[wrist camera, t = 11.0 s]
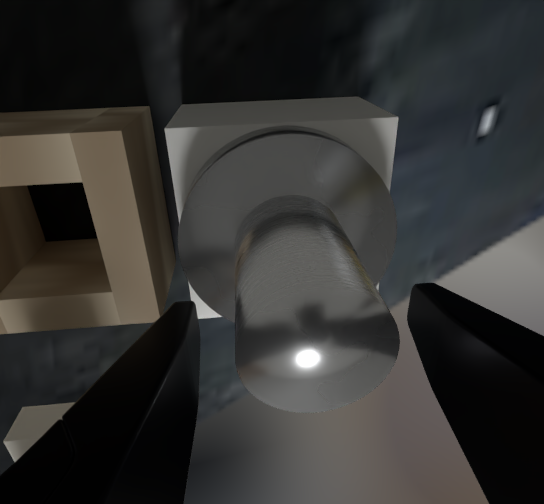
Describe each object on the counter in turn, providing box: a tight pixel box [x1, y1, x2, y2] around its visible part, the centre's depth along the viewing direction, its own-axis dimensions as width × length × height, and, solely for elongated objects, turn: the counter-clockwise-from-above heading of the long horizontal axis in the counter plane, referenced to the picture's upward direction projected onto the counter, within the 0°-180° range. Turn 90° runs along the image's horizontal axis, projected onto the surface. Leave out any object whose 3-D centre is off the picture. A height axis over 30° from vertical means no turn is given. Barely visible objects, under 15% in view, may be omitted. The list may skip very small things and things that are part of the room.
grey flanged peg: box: [178, 125, 400, 413], centre depth 11 cm, size 6×6×9 cm
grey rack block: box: [165, 96, 398, 319], centre depth 14 cm, size 6×6×4 cm
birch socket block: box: [0, 106, 176, 334], centre depth 13 cm, size 6×6×4 cm
